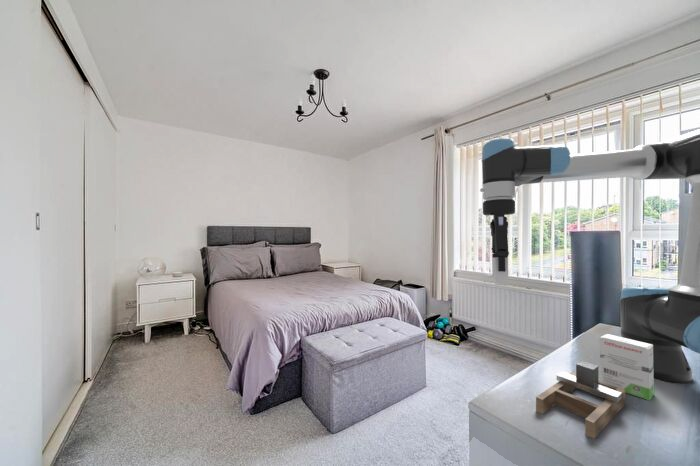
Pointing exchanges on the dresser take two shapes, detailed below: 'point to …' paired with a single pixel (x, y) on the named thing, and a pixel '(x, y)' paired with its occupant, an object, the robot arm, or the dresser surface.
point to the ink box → (627, 365)
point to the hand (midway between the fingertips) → (499, 280)
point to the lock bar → (589, 381)
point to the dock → (581, 405)
